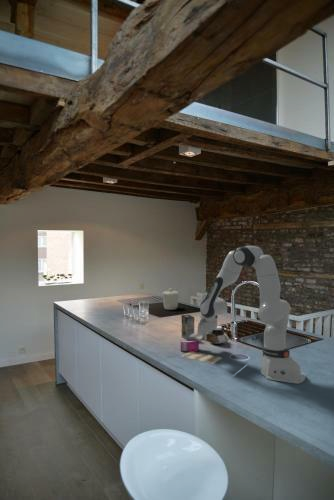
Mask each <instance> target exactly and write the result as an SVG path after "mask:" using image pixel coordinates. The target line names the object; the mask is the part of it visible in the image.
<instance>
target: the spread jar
mask: <svg viewBox="0 0 334 500" xmlns="http://www.w3.org/2000/svg"><path fill="white" fill-rule="evenodd" d="M211 335H215V336H218V341H217V343H216V344H214V343H211V344H212V345H214V346H222V345H223V344H224V343H228V342H229V341H230V338H229V336H228V335H227V333H226V332H225V331H224V330H223V327H222V325H217V328H216V329H215V330H213V331H212V334H211Z"/></svg>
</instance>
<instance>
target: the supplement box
mask: <svg viewBox="0 0 334 500" xmlns="http://www.w3.org/2000/svg"><path fill="white" fill-rule="evenodd" d="M199 342H200V341H198V340H182V341H180V352H190V351H194V352H199V350H200V349H199Z"/></svg>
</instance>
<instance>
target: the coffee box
mask: <svg viewBox="0 0 334 500" xmlns="http://www.w3.org/2000/svg"><path fill="white" fill-rule="evenodd" d="M193 333H195V317H194V316H193V315H191V314H182V315H181V337H182V338H183V339H184V340H185V341H193V339H191V338H189V336H190V335H192V334H193Z"/></svg>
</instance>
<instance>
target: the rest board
mask: <svg viewBox="0 0 334 500" xmlns="http://www.w3.org/2000/svg"><path fill="white" fill-rule="evenodd" d="M181 357H182V358H185V359H186V358H187V359H190V360H195V361H199V362H203V363H208V364H213V365H214V364H216V363H217V362H219V361H220V360H222V359H223V357H221V356H216V355H212V354H207V353H202V352H199V351H187V353H184V354H183V355H181Z"/></svg>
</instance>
